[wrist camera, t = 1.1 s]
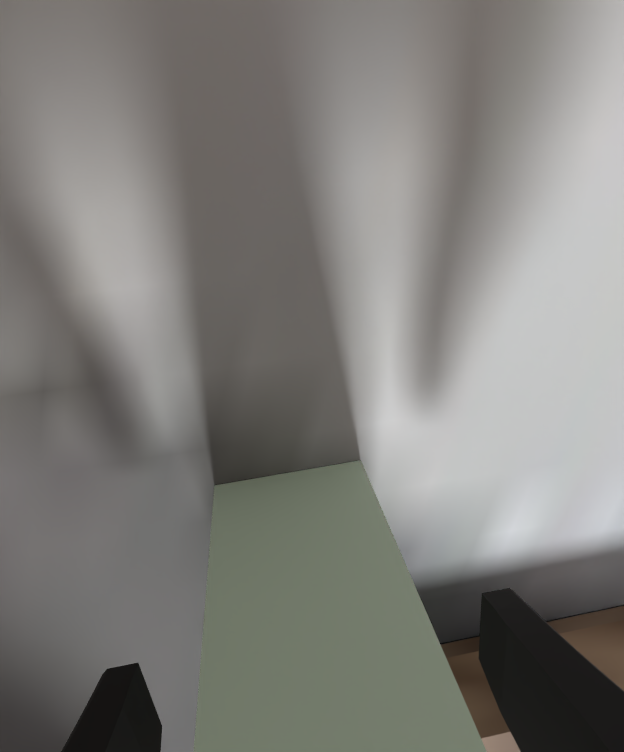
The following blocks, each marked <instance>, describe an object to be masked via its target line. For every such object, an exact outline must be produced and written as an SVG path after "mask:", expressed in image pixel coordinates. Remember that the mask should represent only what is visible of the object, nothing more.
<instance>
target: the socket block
mask: <svg viewBox="0 0 624 752" xmlns="http://www.w3.org/2000/svg"><path fill="white" fill-rule="evenodd" d="M547 623H548V624H549V625H550V626H551V627H552V628H553V629H554V630H555V631H557V632H558V633H559V634H560V635H561V636H562V637H563V638H564V639H565V640H566V641H567V642H569V643H570V644H571V645H572V646H573V647H574V648H575V649H576V650H577V651H579V652H580V653H581V654H582V655H583V656H584V657H585V658H586V659H587V660H589V661H590V662H591V663H592V664H593V665H594V666H596V667H597V668H598V669H599V670H600V671H601V672H603V673H604V674H605V675H606V676H607V677H608V678H609V679H611V680H612V681H613V682H614V683H615V684H616V685H618V686H619V687H620V688H621V689H622V690H623V691H624V606H620V607H616V608H611V609H606V610H601V611H597V612H592V613H587V614H583V615H578V616H573V617H568V618H564V619H559V620H554V621H550V622H547ZM479 640H480V636H479V637H474V638H469V639H465V640H460V641H455V642H450V643H446V644H441V647H442V650H443V652H444V654H445V656H446V659H447V661H448V663H449V666H450V668H451V670H452V673H453V675H454V677H455V680H456V682H457V684H458V686H459V689H460V691H461V693H462V696H463V698H464V700H465V703H466V705H467V707H468V710H469V712H470V714H471V716H472V719H473V721H474V723H475V726H476V728H477V730H478V733H479V735H480V737H481V740H482V742H483V744H484V746H485V749H486V751H487V752H521V751H520V749H519V747H518V745H517V744H516V742H515V740H514V738H513V736H512V734H511V732H510V730H509V728H508V726H507V724H506V722H505V720H504V718H503V716H502V714H501V712H500V710H499V708H498V705H497V703H496V700H495V698H494V696H493V693H492V691H491V689H490V686H489V684H488V681H487V678H486V676H485V673H484V671H483V668H482V666H481V663H480V661H479Z"/></svg>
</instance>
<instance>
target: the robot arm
mask: <svg viewBox="0 0 624 752" xmlns="http://www.w3.org/2000/svg"><path fill="white" fill-rule="evenodd" d="M479 661H480V663H481V666H482V668H483V671H484V673H485V676H486V678H487V681H488V684H489V686H490V689H491V691H492V693H493V696H494V698H495V700H496V703H497V705H498V708H499V710H500V712H501V714H502V716H503V718H504V720H505V722H506V724H507V726H508V728H509V730H510V732H511V734H512V736H513V738H514V740H515V742H516V744H517V745H518V747H519V749H520V751H521V752H624V691H623V690H622V689H621V688H620V687H619V686H618V685H616V684H615V683H614V682H613V681H612V680H611V679H609V678H608V677H607V676H606V675H605V674H604V673H603V672H601V671H600V670H599V669H598V668H597V667H596V666H594V665H593V664H592V663H591V662H590V661H589V660H587V659H586V658H585V657H584V656H583V655H582V654H581V653H580V652H579V651H577V650H576V649H575V648H574V647H573V646H572V645H571V644H570V643H569V642H567V641H566V640H565V639H564V638H563V637H562V636H561V635H560V634H559V633H558V632H557V631H555V630H554V629H553V628H552V627H551V626H550V625H549V624H548V623H547V622H546V621H545V620H544V619H543V618H541V617H540V616H539V615H538V614H537V613H536V612H535V611H534V610H533V609H532V608H531V607H530V606H529V605H528V604H527V603H526V602H525V601H523V600H522V599H521V598H520V597H519V596H518V595H517V594H516V593H515V592H514V591H513V590H511V589H510V588H507V589H502V590H497V591H492V592H487V593H482V602H481V621H480V640H479ZM161 734H162V725H161V722H160V719H159V717H158V714H157V712H156V709H155V706H154V704H153V701H152V698H151V696H150V693H149V690H148V688H147V685H146V682H145V680H144V677H143V674H142V672H141V669H140V666H139V664H138V663H134V664H129V665H124V666H120V667H115V668H110V669H107V670H106V671H105V672H104V673H103V675H102V677H101V679H100V680H99V682H98V684H97V686H96V688H95V690H94V692H93V694H92V696H91V698H90V700H89V701H88V703H87V705H86V707H85V709H84V711H83V713H82V715H81V716H80V718H79V720H78V722H77V724H76V726H75V728H74V729H73V731H72V733H71V735H70V737H69V739H68V740H67V742H66V744H65V746H64V748H63V749H62V751H61V752H160V750H161Z"/></svg>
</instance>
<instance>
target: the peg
mask: <svg viewBox="0 0 624 752" xmlns="http://www.w3.org/2000/svg"><path fill="white" fill-rule="evenodd" d="M194 752H487V751H486V749H485V746H484V744H483V742H482V740H481V737H480V735H479V733H478V730H477V728H476V726H475V723H474V721H473V719H472V716H471V714H470V712H469V710H468V707H467V705H466V703H465V700H464V698H463V696H462V693H461V691H460V689H459V686H458V684H457V682H456V680H455V677H454V675H453V673H452V670H451V668H450V666H449V663H448V661H447V659H446V656H445V654H444V652H443V650H442V647H441V645H440V643H439V640H438V638H437V636H436V633H435V631H434V629H433V626H432V624H431V622H430V620H429V617H428V615H427V613H426V610H425V608H424V606H423V603H422V601H421V599H420V596H419V594H418V592H417V590H416V587H415V585H414V583H413V580H412V578H411V576H410V573H409V571H408V569H407V566H406V564H405V562H404V559H403V557H402V555H401V553H400V550H399V548H398V546H397V543H396V541H395V539H394V536H393V534H392V532H391V529H390V527H389V525H388V523H387V520H386V518H385V516H384V513H383V511H382V509H381V506H380V504H379V502H378V499H377V497H376V495H375V493H374V490H373V488H372V486H371V483H370V481H369V479H368V476H367V474H366V472H365V469H364V467H363V465H362V463H361V460H359V461H353V462H347V463H342V464H336V465H330V466H324V467H318V468H313V469H307V470H301V471H295V472H290V473H284V474H278V475H272V476H266V477H261V478H255V479H249V480H243V481H238V482H232V483H226V484H220V485H214V498H213V511H212V523H211V536H210V549H209V562H208V575H207V587H206V600H205V613H204V626H203V638H202V651H201V664H200V677H199V689H198V702H197V715H196V728H195V740H194Z"/></svg>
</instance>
